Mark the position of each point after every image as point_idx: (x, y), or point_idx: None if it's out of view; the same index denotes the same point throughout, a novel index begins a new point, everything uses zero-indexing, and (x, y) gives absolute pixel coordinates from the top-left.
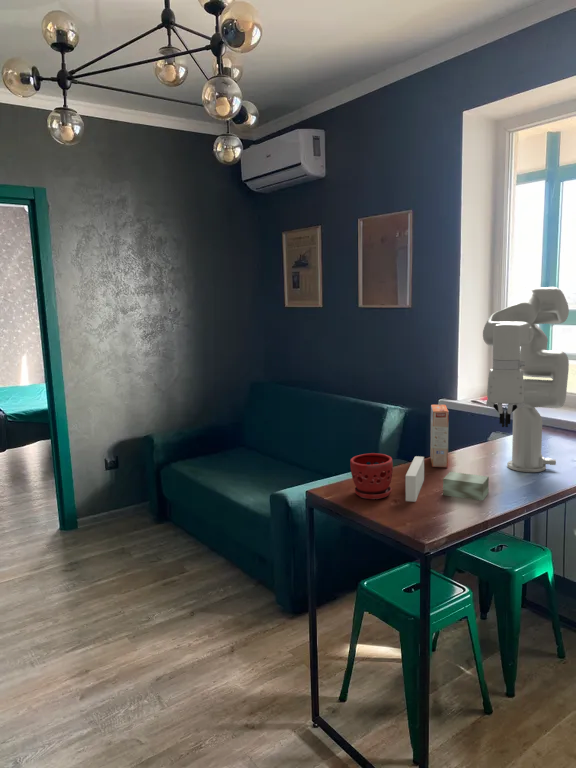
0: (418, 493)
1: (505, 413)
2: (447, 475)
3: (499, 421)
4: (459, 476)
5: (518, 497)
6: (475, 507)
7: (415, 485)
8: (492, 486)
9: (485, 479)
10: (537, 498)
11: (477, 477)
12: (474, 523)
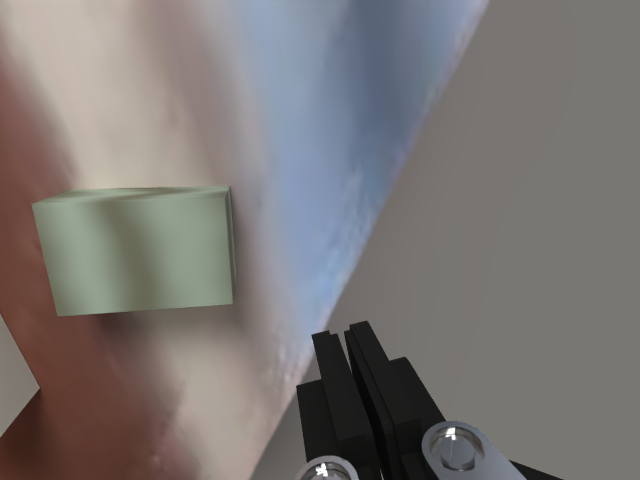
0: (2, 323)
1: (392, 475)
2: (51, 266)
3: (299, 398)
4: (107, 256)
5: (337, 190)
6: (234, 342)
7: (2, 433)
8: (222, 99)
9: (224, 245)
10: (396, 172)
11: (185, 234)
12: (266, 442)
